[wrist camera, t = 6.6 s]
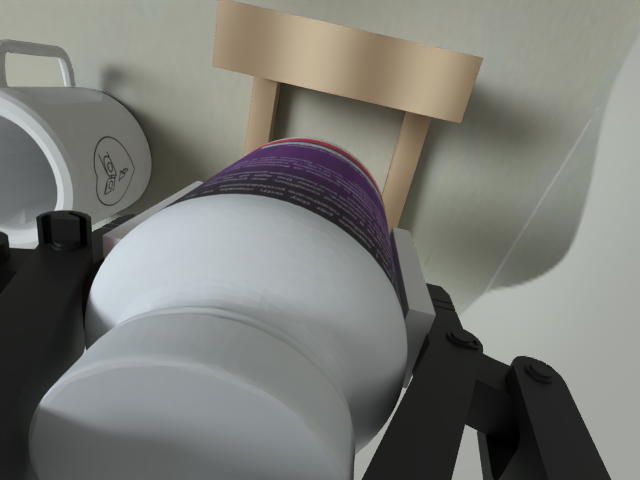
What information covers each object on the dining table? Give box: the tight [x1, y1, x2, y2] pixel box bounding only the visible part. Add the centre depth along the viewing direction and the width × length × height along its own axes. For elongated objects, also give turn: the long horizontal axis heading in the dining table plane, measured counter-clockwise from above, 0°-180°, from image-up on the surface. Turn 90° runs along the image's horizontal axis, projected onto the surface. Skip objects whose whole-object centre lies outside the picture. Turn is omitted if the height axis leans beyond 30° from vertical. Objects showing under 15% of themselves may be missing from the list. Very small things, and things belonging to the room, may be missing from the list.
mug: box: [0, 39, 151, 249], centre depth 28 cm, size 14×11×10 cm
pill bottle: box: [28, 137, 407, 480], centre depth 13 cm, size 8×8×14 cm
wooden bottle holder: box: [212, 0, 483, 236], centre depth 27 cm, size 14×18×10 cm
